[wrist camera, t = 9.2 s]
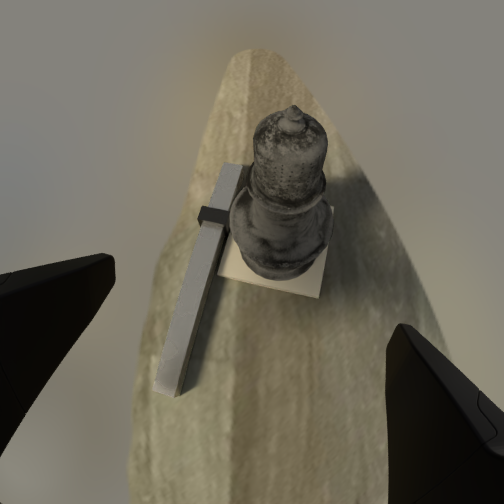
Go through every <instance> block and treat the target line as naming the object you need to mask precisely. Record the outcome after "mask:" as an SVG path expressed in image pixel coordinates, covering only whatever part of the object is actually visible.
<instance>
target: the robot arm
mask: <svg viewBox="0 0 504 504" xmlns="http://www.w3.org/2000/svg"><path fill="white" fill-rule="evenodd" d="M115 279H116V277H115V260H114V257H113V256H112V255H108V254H105V253H99V254H94V255H90V256H85V257H80V258H75V259H70V260H65V261H61V262H56V263H52V264H46V265H42V266H37V267H33V268H28V269H23V270H19V271H15V272H13V273H11V272H10V273H6V274H1V275H0V457H1V455H2V453H3V451H4V450H5V448H6V446H7V444H8V443H9V441H10V440H11V437H12V436H13V435H14V433H15V431H16V430H17V428H18V426H19V425H20V423H21V422H22V420H23V418H24V417H25V415H26V414H25V413H27V412H28V410H29V409H30V407H31V406H32V404H33V403H34V401H35V400H36V398H37V397H38V395H39V394H40V392H41V391H42V389H43V388H44V386H45V385H46V383H47V382H48V380H49V379H50V377H51V376H52V374H53V373H54V372H55V370H56V369H57V367H58V366H59V364H60V363H61V361H62V360H63V359H64V357H65V356H66V354H67V353H68V352H69V350H70V349H71V348H72V346H73V345H74V344H75V342H76V341H77V340H78V338H79V337H80V335H81V334H82V333H83V331H84V330H85V329H86V328H87V326H88V325H89V323H90V322H91V321H92V319H93V318H94V316H95V315H96V313H97V312H98V310H99V308H100V307H101V305H102V303H103V302H104V300H105V299H106V297H107V295H108V294H109V292H110V290H111V289H112V288H113V286H114V284H115ZM385 398H386V413H387V431H388V466H389V485H388V504H504V412H503V411H501V409H499V408H498V407H497V406H496V405H495V404H494V403H493V402H492V401H491V400H490V399H489V398H488V397H487V396H486V395H485V394H484V393H483V392H482V391H479V388H478V387H477V386H476V385H475V384H473V383H472V382H471V381H470V380H469V379H468V378H467V377H466V376H465V375H464V374H463V373H462V372H461V371H460V370H459V369H458V368H457V367H456V366H455V365H454V364H453V363H451V362H450V361H449V360H448V359H447V358H446V357H445V356H444V355H443V354H442V353H441V352H440V351H439V350H438V349H436V348H435V347H434V346H433V345H432V344H431V343H430V342H429V341H428V340H427V339H426V338H424V337H423V336H422V335H421V334H420V333H419V332H418V331H417V330H416V329H415V328H413V327H412V326H411V325H407V324H402V323H400V324H398V325H397V326H396V328H395V330H394V332H393V334H392V337H391V339H390V341H389V343H388V345H387V348H386V382H385ZM0 504H2V503H0Z"/></svg>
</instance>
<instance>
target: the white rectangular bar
mask: <svg viewBox="0 0 504 504" xmlns="http://www.w3.org/2000/svg"><path fill="white" fill-rule="evenodd" d="M243 177H244V173H243V165H237V164H231V163H225V162H224V163H223V166H222V169H221V172H220V174H219V177H218V180H217V183H216V185H215V188H214V191H213V194H212V197H211V200H210V202H209V205H208V207H206V206H202V207H201V210H200V213H199V216H198V218H197V220H198V222H199V224H200V227H201V229H200V231H199V234H198V237H197V240H196V243H195V246H194V250H193V253H192V256H191V259H190V262H189V265H188V268H187V271H186V274H185V278H184V281H183V284H182V287H181V290H180V294H179V297H178V300H177V303H176V307H175V310H174V313H173V317H172V320H171V324H170V327H169V331H168V334H167V337H166V341H165V345H164V348H163V352H162V355H161V359H160V362H159V366H158V370H157V374H156V377H155V381H154V385H153V389H152V390H153V391H156V392H159V393H161V394H164V395H167V396H170V397H173V398H175V397H178V396H180V393H181V389H182V386H183V382H184V378H185V374H186V371H187V367H188V363H189V360H190V356H191V352H192V349H193V345H194V341H195V338H196V334H197V331H198V327H199V324H200V320H201V317H202V313H203V310H204V306H205V303H206V299H207V296H208V292H209V289H210V285H211V282H212V279H213V275H214V272H215V268H216V265H217V262H218V258H219V255H220V252H221V248H222V245H223V242H224V238H225V236H226V237H228V236H229V233H230V211H231V208H232V204H233V202H234V200H235V199H236V197H237V195H238V193H239V190H240V187H241V184H242V181H243Z"/></svg>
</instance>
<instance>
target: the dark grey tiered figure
mask: <svg viewBox="0 0 504 504" xmlns="http://www.w3.org/2000/svg"><path fill="white" fill-rule="evenodd" d="M253 147H254V162H253V163H252V165H251V166H250V168H249V170H248V173H247V176H246V180H247V186H246V187H245V188H244V189H243V190H241V191H240V192H239V194H238V195H237V197H236V199H235V200H234V202H233V204H232V208H231V211H230V229H231V232H232V236H233V239H234V241H235V242H236V244H237V245H238V247H239V249H240V253H241V256H242V259H243V260H244V262H245V263H246V265H247V266H248V267H249V268H250V269H251V270H252V271H253V272H254V273H255V274H257V275H259V276H261V277H263V278H265V279H269V280H274V281H286V280H290V279H293V278H297V277H299V276H300V275H302V274H303V273H305V272H306V271H307V270H308V269H309V268H310V267H311V266H312V265H313V263H314V261H315V259H316V257H318V256H319V255H320V254H321V253H322V251H323V250H324V249H325V248H326V247H327V245H328V243H329V241H330V238H331V236H332V233H333V226H334V219H333V213H332V209H331V207H330V205H329V203H328V200H327V199H326V197H325V196H324V193H325V188H326V179H325V174H324V172H323V170H322V168H323V164H324V161H325V157H326V153H327V147H328V140H327V135H326V132H325V130H324V128H323V127H322V126H321V124H320V123H319V122H318V121H317V120H315V119H314V118H313V117H311V116H310V115H308V114H306V113H303V112H302V111H301V110H300V109H299V108H298V107H297V106H296V105H292V106H290V107H289V108H287V109H285V110H283V111H278V112H275V113H273V114H270V115H269V116H267V117H266V118H264V119H263V120H262V121H261V122H260V123H259V124H258V126H257V127H256V130H255V133H254V137H253Z"/></svg>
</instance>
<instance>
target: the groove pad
mask: <svg viewBox="0 0 504 504" xmlns="http://www.w3.org/2000/svg"><path fill="white" fill-rule="evenodd" d="M243 189H244V188H243ZM330 207H331V209H332V213H333V212H334V207H333V206H330ZM328 244H329V243H328ZM327 250H328V245H327V247H326V248H325V249H324V250H323V251H322V253H321V254H320V255H319V256H318V257H316V259H315V261H314V263H313V265H312V266H311V267H310V268H309V269H308V270H307V271H306V272H305V273H303V274H302V275H300V276H299V277H297V278H293V279H290V280H286V281H274V280H269V279H265V278H263V277H261V276H259V275H257V274H255V273H254V272H253V271H252V270H251V269H250V268H249V267H248V266H247V265H246V263H245V262H244V260H243V259H242V256H241V253H240V249H239V247H238V245H237V244H236V242H235V241H234V239H233V236H232V232H231V229H230V233H229V236H228V239H227V243H226V246H225V249H224V253H223V256H222V259H221V263H220V266H219V270H218V273H217V275H218V276H221V277H225V278H229V279H233V280H238V281H242V282H246V283H250V284H255V285H259V286H263V287H268V288H272V289H276V290H281V291H285V292H290V293H294V294H299V295H303V296H308V297H312V298H317V299H318V298H319V293H320V288H321V283H322V278H323V272H324V267H325V261H326V255H327Z"/></svg>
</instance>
